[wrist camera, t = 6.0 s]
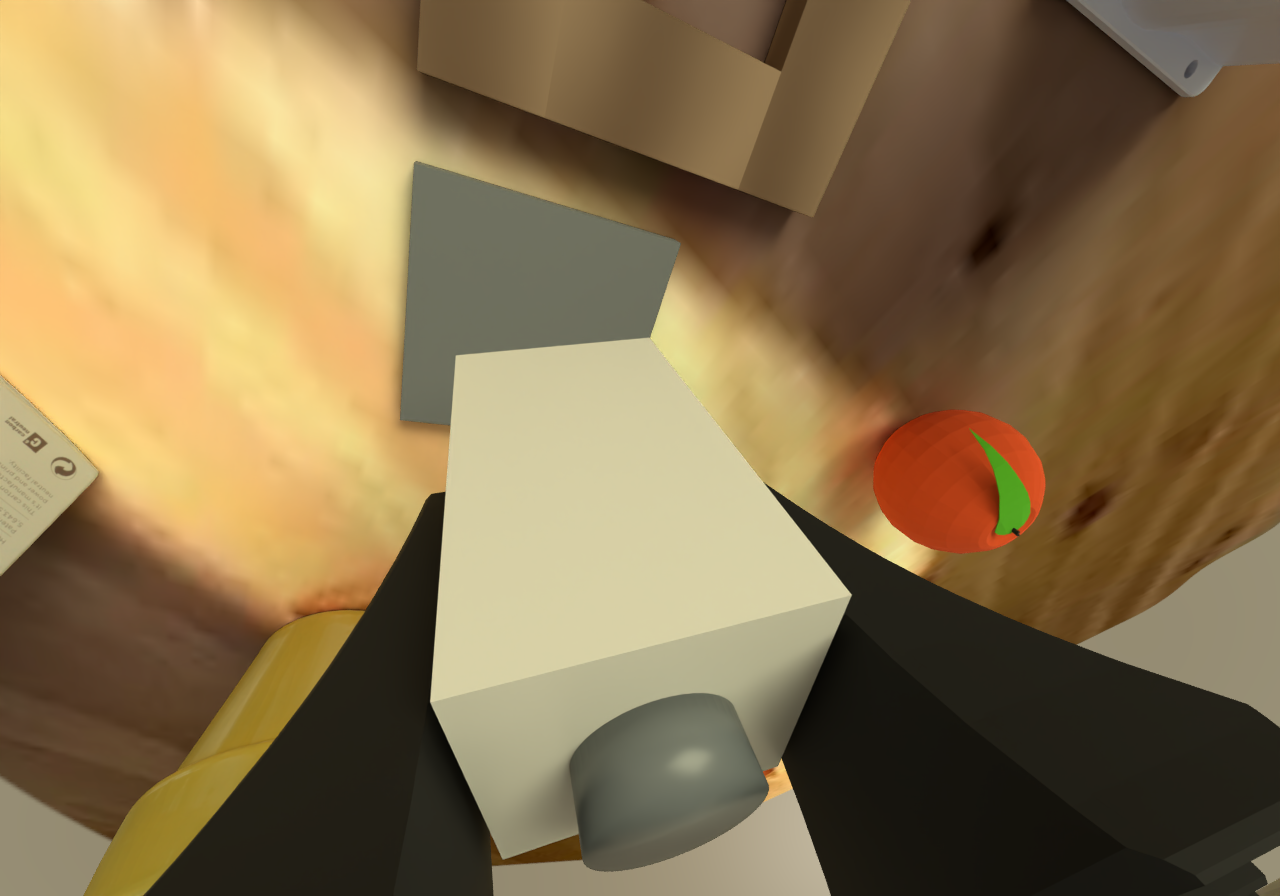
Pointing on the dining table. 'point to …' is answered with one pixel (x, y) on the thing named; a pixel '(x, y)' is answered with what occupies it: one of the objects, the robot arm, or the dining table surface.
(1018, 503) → the clementine
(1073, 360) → the dining table surface
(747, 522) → the plug
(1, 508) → the skincare box
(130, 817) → the plant pot
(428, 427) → the dining table surface
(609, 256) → the coaster
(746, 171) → the holder
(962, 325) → the dining table surface
